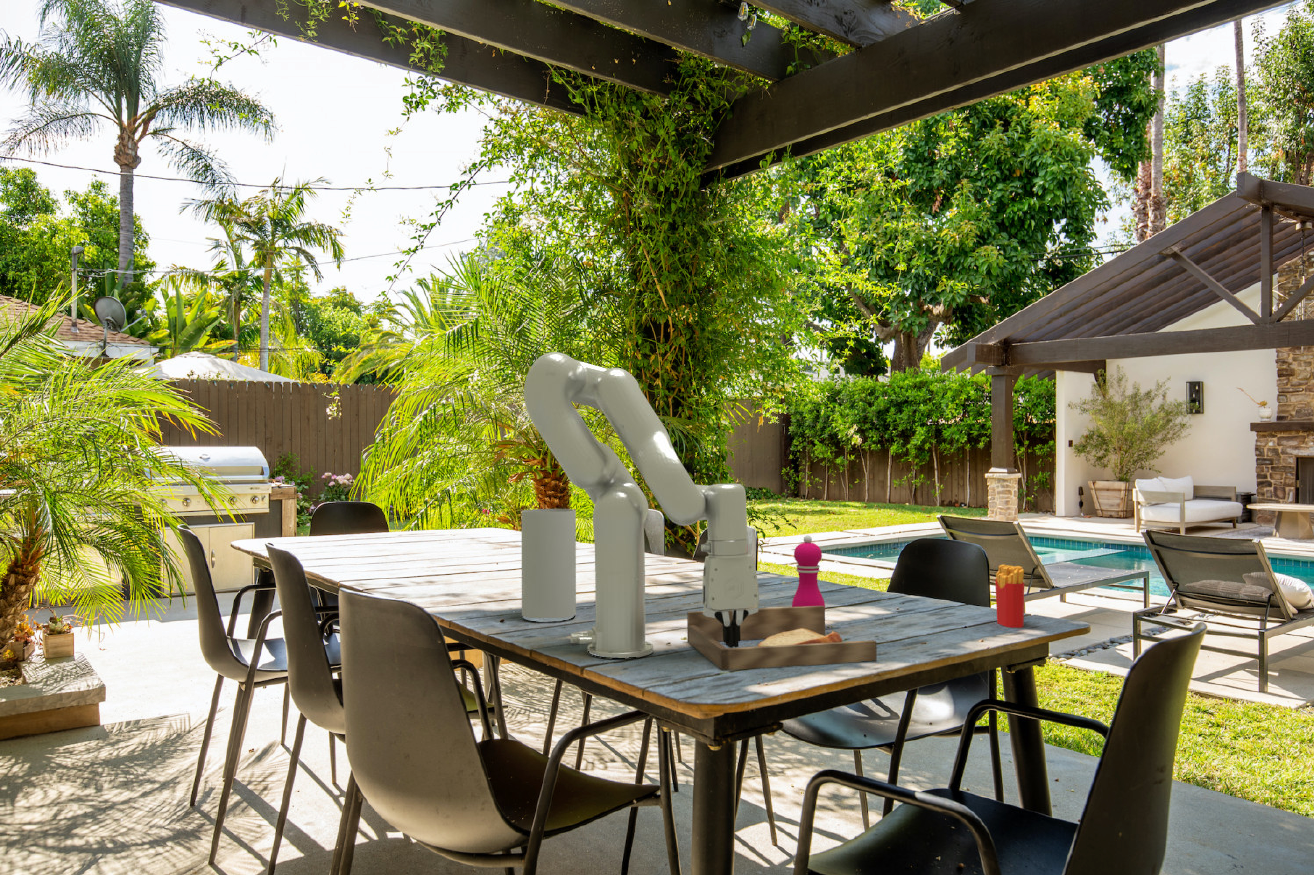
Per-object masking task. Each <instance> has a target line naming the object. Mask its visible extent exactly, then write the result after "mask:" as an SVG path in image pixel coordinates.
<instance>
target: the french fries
mask: <svg viewBox="0 0 1314 875" xmlns="http://www.w3.org/2000/svg"><path fill="white" fill-rule="evenodd" d="M1024 574H1025V569H1023V566H1020V565H1016V566H1013V565H1008V564H1005V563H1004V564H1000V565H998V570H997V572H996V573H995V577H996V578H995V579H994V580H995V581H994V582H995V600H996V601H995V602H996V603H995V605H996V607H995V608H996V622H997V624H999V625H1001V626H1003V627H1006V628H1011V629H1012V628H1013V629H1014V628H1015V629H1018V628H1019V629H1020V628H1024V623H1025V622H1024V620H1025V617H1024V616H1025V614H1024V613H1025V582H1024V576H1025V575H1024Z"/></svg>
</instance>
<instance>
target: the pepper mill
mask: <svg viewBox="0 0 1314 875" xmlns="http://www.w3.org/2000/svg"><path fill="white" fill-rule="evenodd" d="M812 538H813V537H812V536H811V535H805V536H804V537H803V541H804V542H802V543H799V544H797V545H796V547H795V549H794V551H793V557H794V558H793V559H794V560H795V561H796V563H797V565H796V572H797V573H798V584H797V585H798V586H797V589H796V590H795V594H794V596H793V598H792V601H791V607H804V606H825V607H826V604H825V600H824V598H823V595H822V593H821V590H820V588H819V584H818V575H819V574H818V573H819V572H820V568H821V566H820V565H819V562H820V561H821V560H822V559H823V554H822V550H821V548H820V546H819V545H817V544H816V543H813V542H812V541H813V539H812Z"/></svg>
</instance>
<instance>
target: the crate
mask: <svg viewBox="0 0 1314 875" xmlns="http://www.w3.org/2000/svg"><path fill="white" fill-rule="evenodd" d="M728 613H729V619H730V622H731V621H732V614H733V610H731V611H728ZM686 614H687V616H686V617H687V622H686V624H687V626H686V628H687V639H686V640H687V643H689V644H690V645H691V646H693V647H694V648H695V649H696V650H697V651H698V652H699V653H701V654H702V655H703V656H704V657H705V658H707V657H708V658H707V659H708V660H709V659H710V660H711V661H710V660H709V661H710V662H712V663H713V664H714V665H715V666H716V665H717V666H716V667H717V668H719V669H720V670H721V671H733V670H735V671H736V670H747V669H748V670H750V669H751V670H752V669H764V668H765V669H766V668H782V667H783V668H784V667H798V666H799V667H801V666H816V665H833V664H847V663H848V662H849V664H851V663H862V662H861V661H868V662H873V661H872V660H877V658H878V657H877V650H878V649H877V641H876V640H872V639H871V640H870V639H869V640H853V641H852V640H851V641H842V642H833V643H814V644H796V645H778V646H760V647H757V646H748V647H747V646H744V647H743V646H742V647H732V648H730V647H726V646H724V645H723V644H721V643H720V642H724V641H723V624H721V623H720V622H719V621H718V620H717V619H716V618H712V617H707V616H704V615H703V610H699V611H698V610H697V611H696V610H694V611H687V612H686ZM800 628H804V629H808V630H811V631H814V632H816V633H818V634H820V635H823V636H826V605H825V606H804V607H792V606H786V607H764V608H760V607H759V608H758V612H757V613H754V614H751V615H748V616H747V617H746V618H745V619H744V621H743V622H742V624H741V625H740V637H741V640H740V641H748V640H749V641H750V640H766V639H767V638H768V637H770V636H772V635H776V634H779V633H782V632H787V631H792V630H796V629H800ZM850 662H851V663H850Z"/></svg>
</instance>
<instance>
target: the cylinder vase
mask: <svg viewBox="0 0 1314 875" xmlns="http://www.w3.org/2000/svg"><path fill="white" fill-rule="evenodd" d="M576 513H577V512H576V509H571V508H540V509H539V508H535V509H524V510H521V616H522V615H523V616H525V617H529V618H540V619H541V618H543V619H544V618H565V617H570V616H573V615H576V616H577V578H576V577H577V566H576V565H577V560H576V559H577V557H576V556H577V551H576V550H577V546H576V545H577V543H576V542H577V541H576V540H577V538H576V537H577V535H576V534H577V533H576V531H577V529H576V527H577V526H576V525H577V524H576V523H577V522H576V519H577V518H576V517H577V516H576V515H577V514H576Z"/></svg>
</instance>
